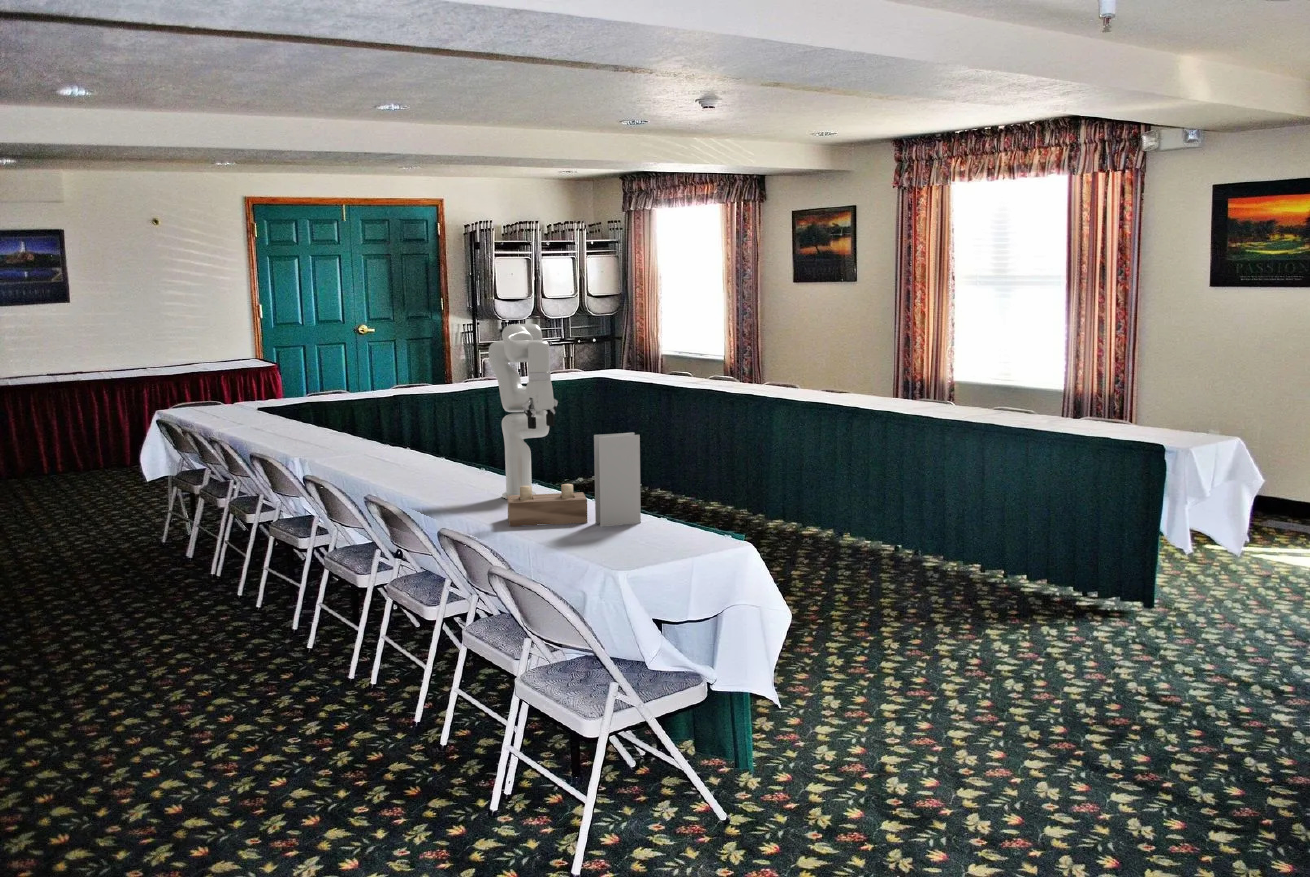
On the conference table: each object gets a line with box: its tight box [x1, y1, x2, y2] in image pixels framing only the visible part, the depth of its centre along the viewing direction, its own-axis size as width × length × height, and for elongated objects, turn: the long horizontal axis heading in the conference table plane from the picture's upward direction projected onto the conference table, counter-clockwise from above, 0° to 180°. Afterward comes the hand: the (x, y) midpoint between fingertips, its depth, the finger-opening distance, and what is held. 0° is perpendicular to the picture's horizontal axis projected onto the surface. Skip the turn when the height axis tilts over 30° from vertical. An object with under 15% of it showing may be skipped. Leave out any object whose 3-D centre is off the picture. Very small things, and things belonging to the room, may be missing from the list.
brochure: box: [593, 432, 642, 528], centre depth 367 cm, size 14×6×30 cm, turn 111°
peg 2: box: [560, 483, 574, 498], centre depth 373 cm, size 4×4×8 cm
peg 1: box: [520, 485, 533, 500], centre depth 371 cm, size 4×4×8 cm
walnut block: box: [506, 491, 588, 527], centre depth 373 cm, size 12×26×8 cm, turn 100°
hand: (541, 427), depth 377 cm, fingers open, 9 cm apart
